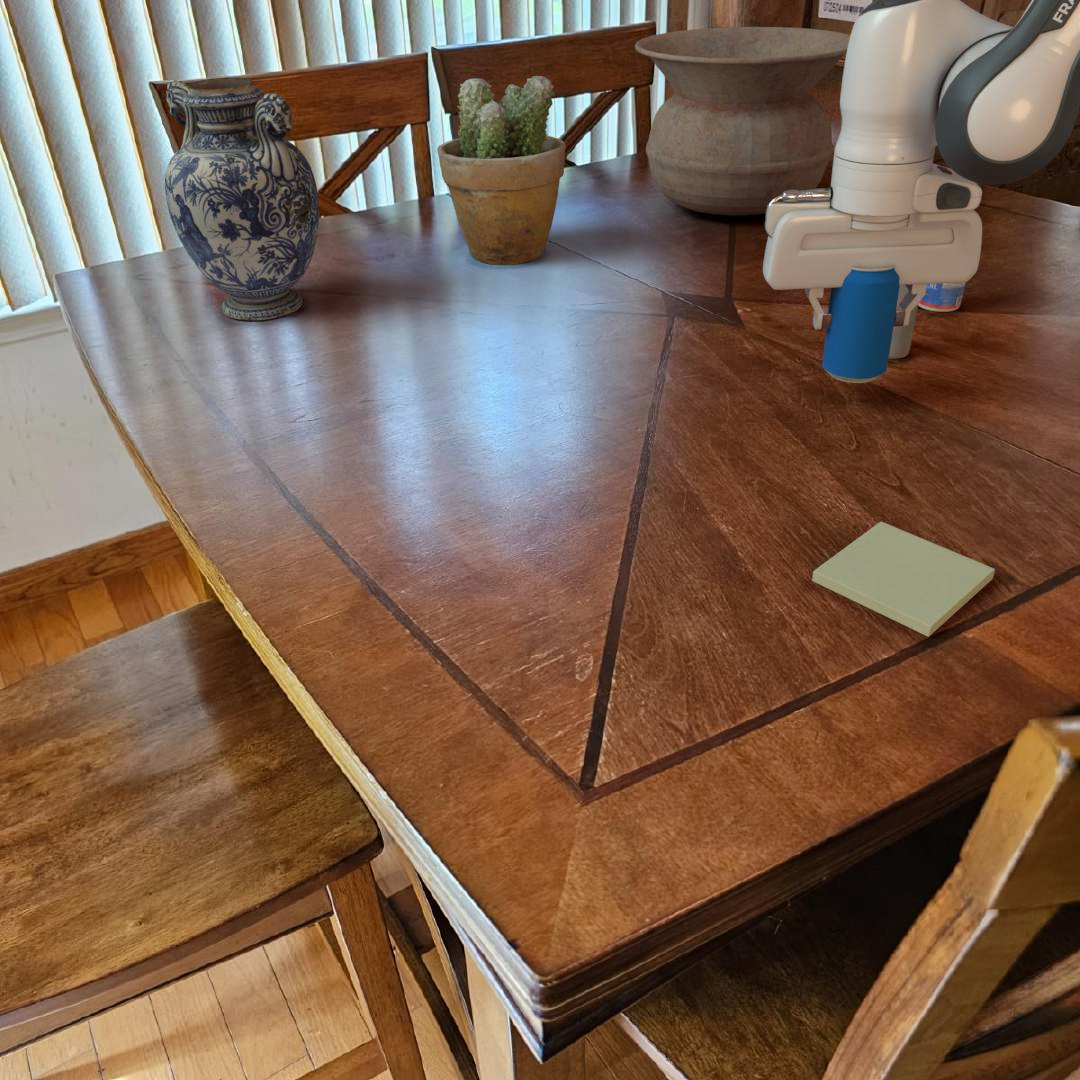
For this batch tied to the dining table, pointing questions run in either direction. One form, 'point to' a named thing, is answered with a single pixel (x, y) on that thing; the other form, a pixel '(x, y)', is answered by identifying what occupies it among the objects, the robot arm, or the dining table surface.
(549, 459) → the dining table surface
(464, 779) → the dining table surface
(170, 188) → the decorative vase
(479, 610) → the dining table surface
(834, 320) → the beverage can
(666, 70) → the pot
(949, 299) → the pill bottle
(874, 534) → the mat
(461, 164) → the potted plant
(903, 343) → the grey cup
